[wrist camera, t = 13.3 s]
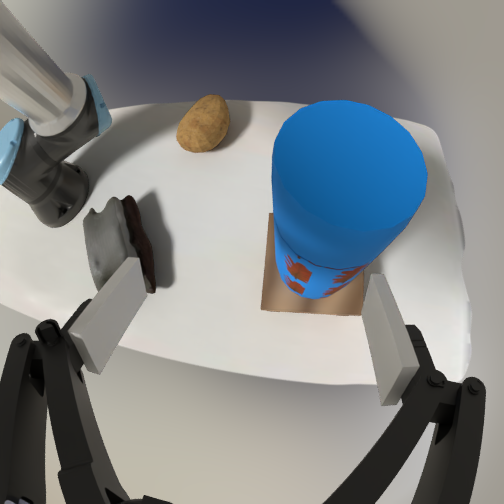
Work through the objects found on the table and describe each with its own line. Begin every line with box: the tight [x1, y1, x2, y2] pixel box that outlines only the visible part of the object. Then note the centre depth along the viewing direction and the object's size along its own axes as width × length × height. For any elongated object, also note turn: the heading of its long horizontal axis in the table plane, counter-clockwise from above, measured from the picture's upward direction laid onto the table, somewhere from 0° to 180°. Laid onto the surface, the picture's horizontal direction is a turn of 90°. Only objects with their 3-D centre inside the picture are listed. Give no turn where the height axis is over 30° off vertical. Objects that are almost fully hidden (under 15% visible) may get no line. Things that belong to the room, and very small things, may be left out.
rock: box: [83, 195, 156, 294], centre depth 48 cm, size 18×11×8 cm, turn 24°
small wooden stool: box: [261, 213, 364, 316], centre depth 45 cm, size 14×14×7 cm
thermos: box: [272, 100, 428, 299], centre depth 30 cm, size 11×11×25 cm
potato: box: [176, 94, 230, 153], centre depth 55 cm, size 10×14×8 cm
